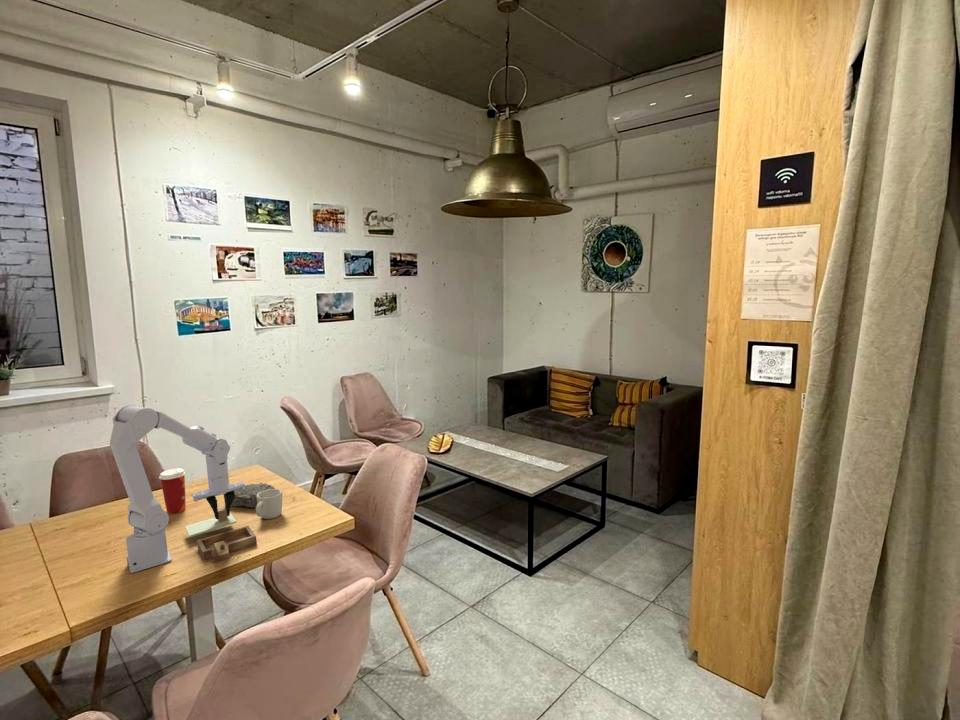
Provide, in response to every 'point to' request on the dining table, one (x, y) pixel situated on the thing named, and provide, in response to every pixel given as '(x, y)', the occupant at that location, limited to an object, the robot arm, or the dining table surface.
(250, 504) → the rock
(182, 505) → the paper cup
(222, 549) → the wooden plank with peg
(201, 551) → the wooden tray
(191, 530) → the lid
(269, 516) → the cup
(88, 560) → the dining table surface
